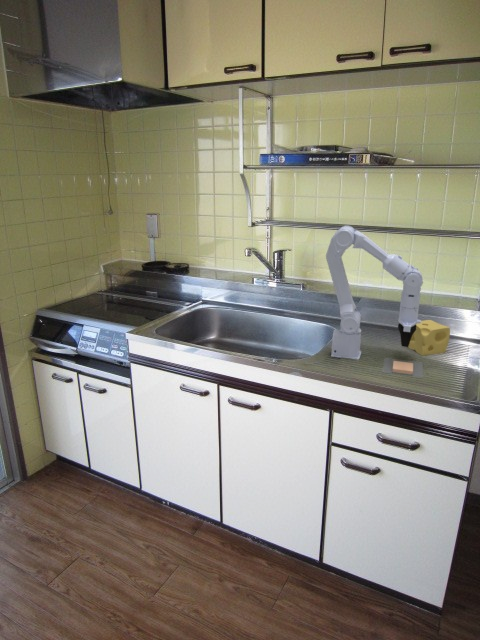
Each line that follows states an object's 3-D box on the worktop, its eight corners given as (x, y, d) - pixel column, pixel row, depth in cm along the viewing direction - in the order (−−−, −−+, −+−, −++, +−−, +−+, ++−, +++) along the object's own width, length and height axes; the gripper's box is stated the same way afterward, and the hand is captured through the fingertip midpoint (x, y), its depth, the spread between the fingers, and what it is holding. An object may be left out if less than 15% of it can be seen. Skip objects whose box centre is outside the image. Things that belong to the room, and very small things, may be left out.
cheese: (421, 357, 158) (425, 330, 155) (403, 346, 168) (406, 320, 164) (447, 354, 160) (451, 327, 157) (427, 344, 170) (431, 318, 167)
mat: (381, 374, 144) (382, 372, 144) (384, 359, 156) (384, 357, 156) (422, 379, 140) (422, 377, 140) (422, 364, 152) (422, 362, 152)
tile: (393, 364, 150) (392, 372, 144) (393, 360, 150) (392, 368, 143) (412, 367, 148) (412, 375, 142) (413, 363, 148) (412, 371, 141)
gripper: (422, 313, 141) (417, 355, 145) (422, 302, 154) (417, 340, 158) (398, 311, 143) (394, 352, 147) (400, 300, 156) (396, 337, 160)
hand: (404, 345), depth 153 cm, fingers closed
